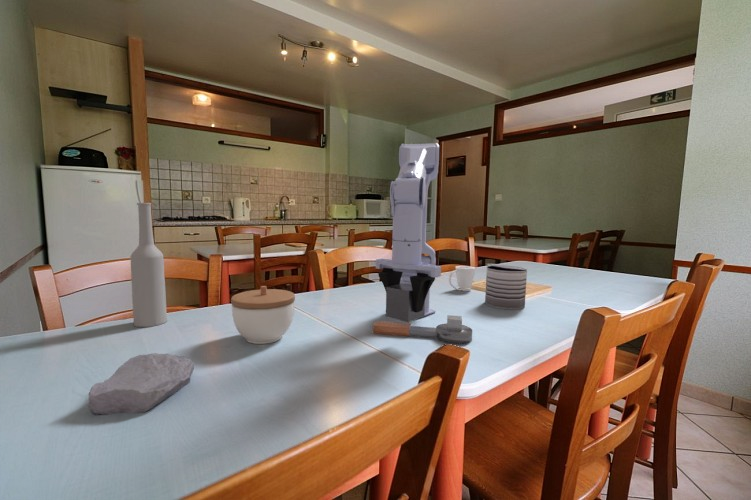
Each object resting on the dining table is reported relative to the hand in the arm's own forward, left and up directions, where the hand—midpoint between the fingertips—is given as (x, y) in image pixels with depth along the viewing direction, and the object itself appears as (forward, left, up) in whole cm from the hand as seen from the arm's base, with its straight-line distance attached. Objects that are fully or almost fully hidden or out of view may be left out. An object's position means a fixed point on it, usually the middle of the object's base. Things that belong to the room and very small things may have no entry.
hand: (405, 308), depth 70 cm
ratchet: (-1, +8, -8) cm, 11 cm away
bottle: (-52, -30, -8) cm, 61 cm away
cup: (-17, +56, -8) cm, 59 cm away
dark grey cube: (0, 0, -2) cm, 2 cm away
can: (+2, +47, -8) cm, 48 cm away
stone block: (-16, -40, -8) cm, 44 cm away
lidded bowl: (-24, -17, -8) cm, 31 cm away
